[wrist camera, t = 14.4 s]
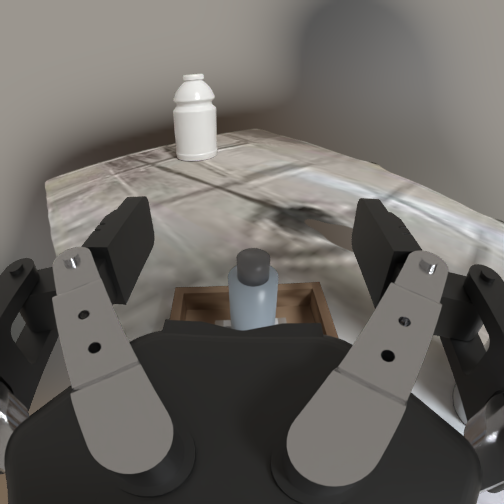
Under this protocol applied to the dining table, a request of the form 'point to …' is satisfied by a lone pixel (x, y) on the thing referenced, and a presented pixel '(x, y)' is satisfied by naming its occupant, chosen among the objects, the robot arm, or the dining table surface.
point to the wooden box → (287, 308)
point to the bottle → (195, 120)
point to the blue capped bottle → (252, 290)
